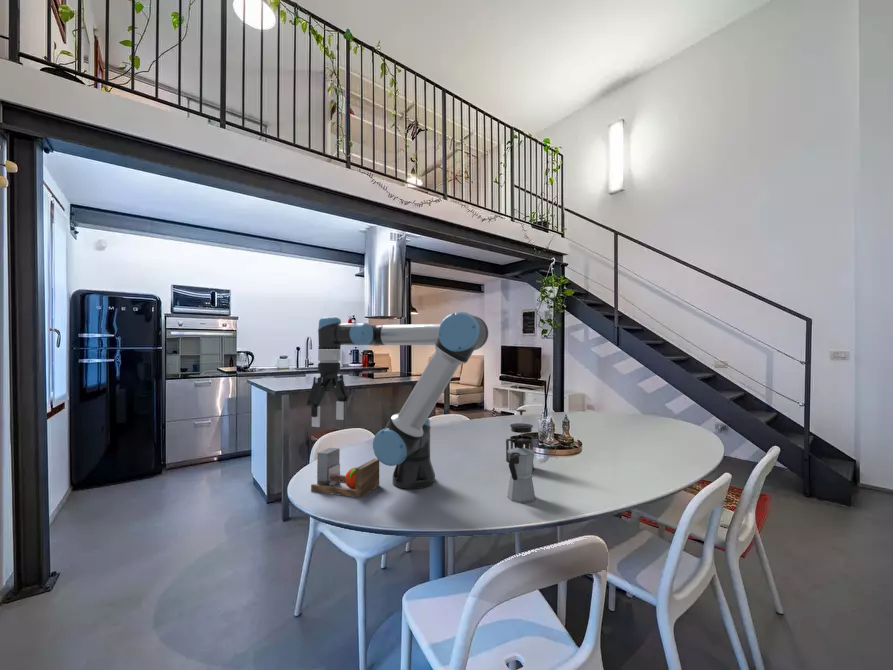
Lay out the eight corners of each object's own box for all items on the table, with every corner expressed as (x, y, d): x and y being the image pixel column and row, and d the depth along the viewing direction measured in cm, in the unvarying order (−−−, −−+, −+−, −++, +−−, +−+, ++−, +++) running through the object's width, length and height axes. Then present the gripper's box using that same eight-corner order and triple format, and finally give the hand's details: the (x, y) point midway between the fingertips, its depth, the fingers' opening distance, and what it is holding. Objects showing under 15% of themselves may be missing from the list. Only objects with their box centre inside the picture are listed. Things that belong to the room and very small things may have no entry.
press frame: (379, 485, 133) (379, 458, 133) (360, 497, 121) (361, 469, 122) (332, 479, 139) (332, 454, 139) (311, 491, 127) (311, 463, 128)
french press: (528, 463, 157) (527, 407, 158) (540, 470, 148) (539, 410, 149) (501, 466, 154) (501, 408, 154) (512, 473, 145) (512, 412, 145)
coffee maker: (515, 488, 129) (514, 434, 130) (540, 493, 124) (539, 437, 125) (497, 504, 116) (496, 444, 117) (525, 510, 111) (524, 447, 112)
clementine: (359, 494, 124) (359, 472, 125) (339, 492, 126) (339, 471, 126) (369, 485, 132) (369, 465, 132) (350, 484, 134) (350, 464, 134)
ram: (340, 483, 135) (341, 448, 135) (328, 489, 128) (328, 453, 129) (329, 481, 136) (329, 447, 137) (317, 488, 130) (317, 452, 130)
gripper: (340, 360, 147) (340, 416, 146) (295, 362, 124) (294, 429, 123) (357, 361, 145) (357, 417, 144) (315, 363, 121) (314, 430, 120)
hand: (328, 423), depth 133 cm, fingers open, 13 cm apart
